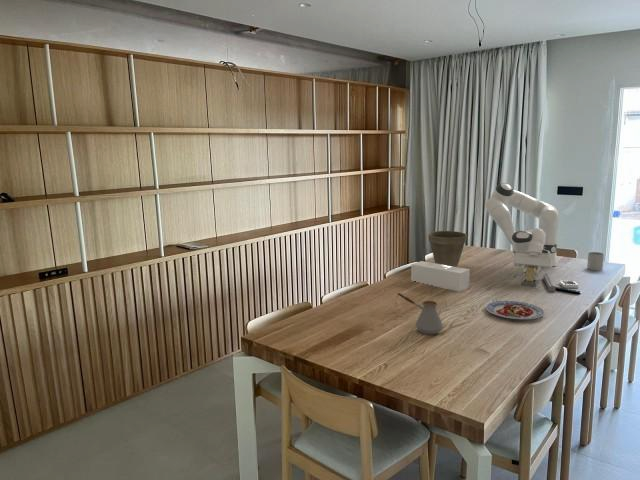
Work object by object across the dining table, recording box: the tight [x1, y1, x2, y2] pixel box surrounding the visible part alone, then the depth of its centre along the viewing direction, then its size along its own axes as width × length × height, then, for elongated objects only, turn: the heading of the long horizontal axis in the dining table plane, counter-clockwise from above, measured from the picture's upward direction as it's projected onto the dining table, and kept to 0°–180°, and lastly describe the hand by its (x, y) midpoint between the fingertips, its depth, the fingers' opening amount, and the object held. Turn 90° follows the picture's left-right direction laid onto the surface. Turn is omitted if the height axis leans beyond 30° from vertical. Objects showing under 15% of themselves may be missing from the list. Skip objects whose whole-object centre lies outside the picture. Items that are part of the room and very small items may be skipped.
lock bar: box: [525, 266, 537, 282], centre depth 267 cm, size 4×4×10 cm
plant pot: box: [428, 230, 468, 267], centre depth 314 cm, size 25×25×22 cm
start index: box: [559, 280, 579, 289], centre depth 262 cm, size 8×8×2 cm
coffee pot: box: [396, 292, 444, 336], centre depth 204 cm, size 21×12×15 cm, turn 55°
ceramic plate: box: [485, 300, 545, 320], centre depth 222 cm, size 26×26×3 cm
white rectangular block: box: [410, 260, 471, 292], centre depth 272 cm, size 32×11×11 cm, turn 44°
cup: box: [586, 251, 605, 272], centre depth 296 cm, size 8×8×10 cm
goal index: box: [520, 277, 539, 287], centre depth 268 cm, size 8×8×2 cm
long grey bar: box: [542, 273, 556, 293], centre depth 265 cm, size 26×3×3 cm, turn 161°
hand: (530, 273), depth 267 cm, fingers open, 5 cm apart
